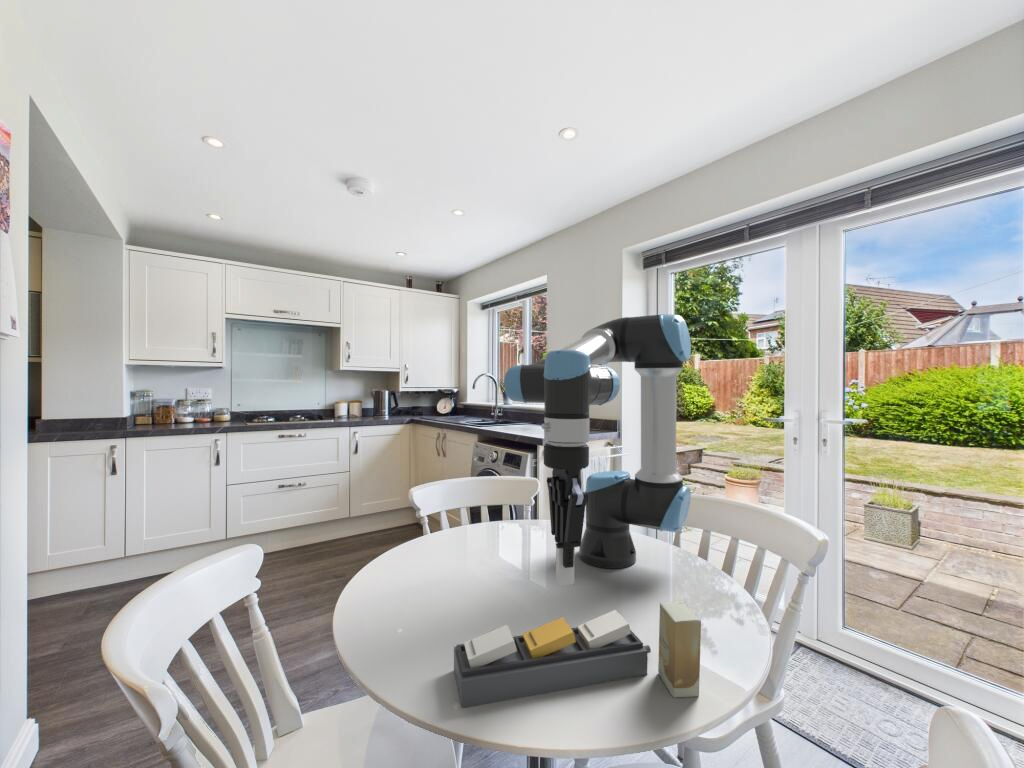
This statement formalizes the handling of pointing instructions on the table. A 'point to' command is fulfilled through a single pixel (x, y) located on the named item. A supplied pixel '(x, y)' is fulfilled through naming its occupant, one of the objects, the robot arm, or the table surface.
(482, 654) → the rocker
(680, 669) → the skincare box
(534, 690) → the power strip
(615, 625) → the block
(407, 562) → the table surface
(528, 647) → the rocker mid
